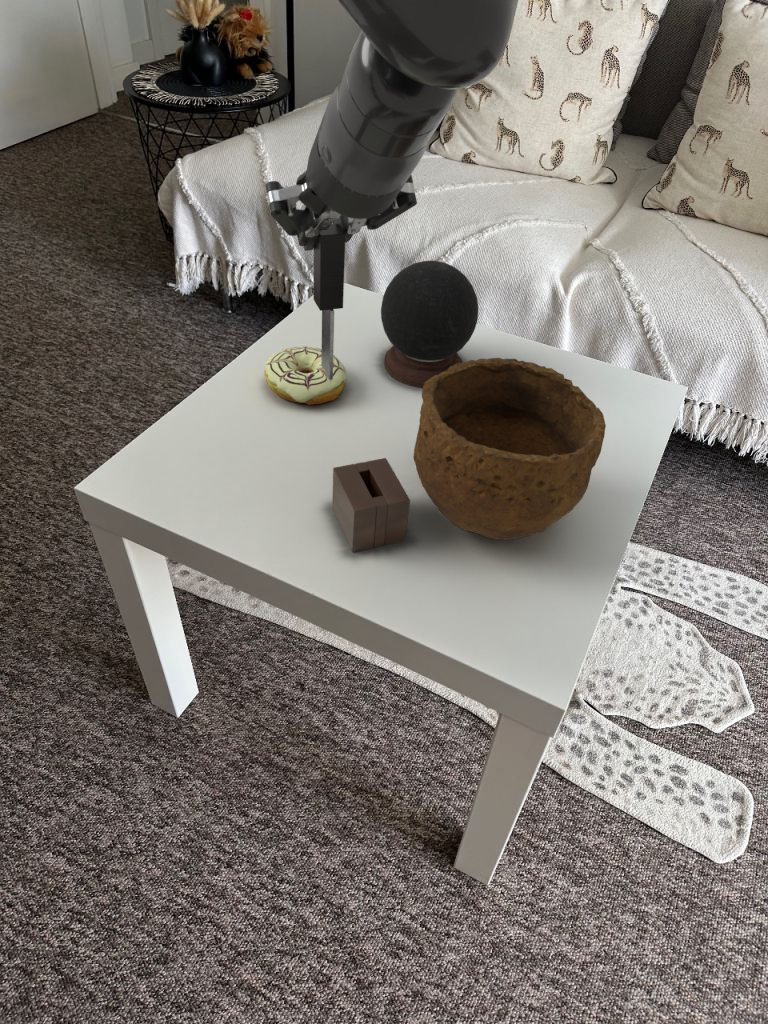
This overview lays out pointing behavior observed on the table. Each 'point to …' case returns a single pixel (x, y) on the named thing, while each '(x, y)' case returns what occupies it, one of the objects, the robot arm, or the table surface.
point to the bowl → (506, 446)
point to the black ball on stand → (427, 320)
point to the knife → (329, 286)
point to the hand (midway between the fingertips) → (320, 239)
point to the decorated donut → (304, 376)
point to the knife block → (370, 504)
